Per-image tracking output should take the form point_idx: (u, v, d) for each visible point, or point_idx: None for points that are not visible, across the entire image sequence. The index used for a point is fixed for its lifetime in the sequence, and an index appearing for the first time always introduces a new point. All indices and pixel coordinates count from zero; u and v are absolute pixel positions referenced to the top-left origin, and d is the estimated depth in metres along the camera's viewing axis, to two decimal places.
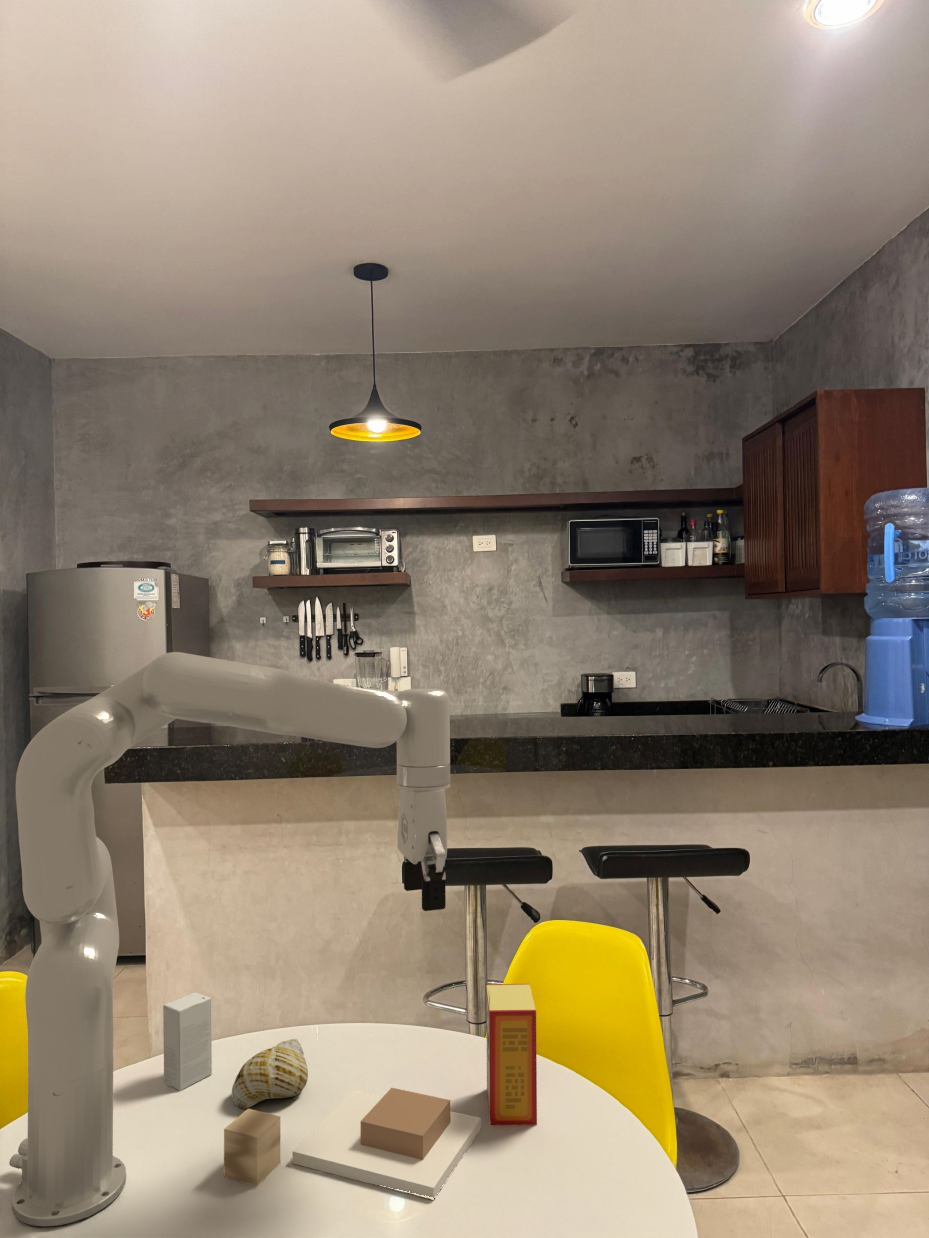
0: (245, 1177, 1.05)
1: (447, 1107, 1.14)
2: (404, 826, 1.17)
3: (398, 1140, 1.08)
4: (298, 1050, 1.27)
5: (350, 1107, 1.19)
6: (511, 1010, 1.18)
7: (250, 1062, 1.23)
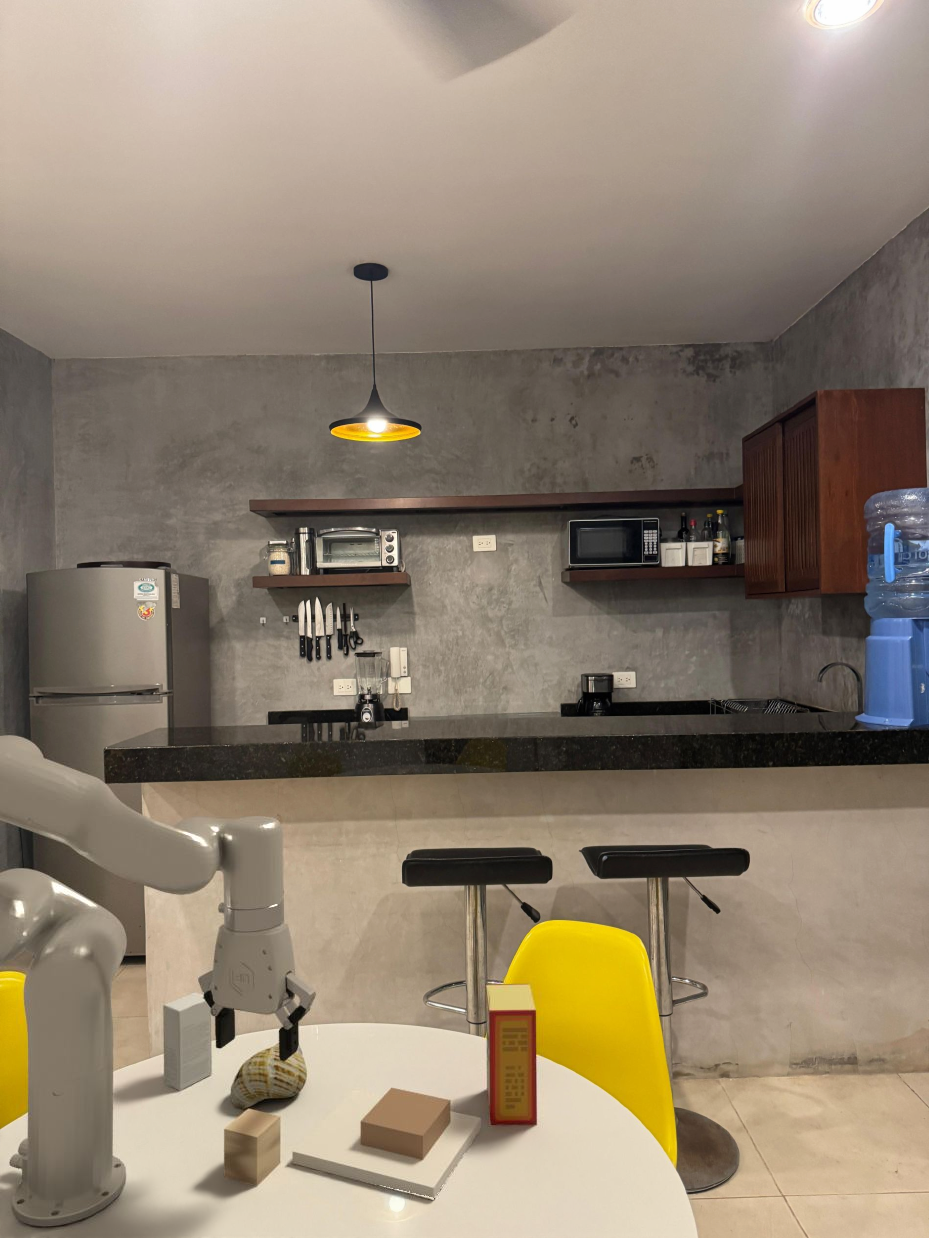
0: (245, 1177, 1.05)
1: (447, 1107, 1.14)
2: (243, 976, 1.05)
3: (398, 1140, 1.08)
4: (297, 1050, 1.27)
5: (350, 1107, 1.19)
6: (511, 1009, 1.18)
7: (249, 1062, 1.23)
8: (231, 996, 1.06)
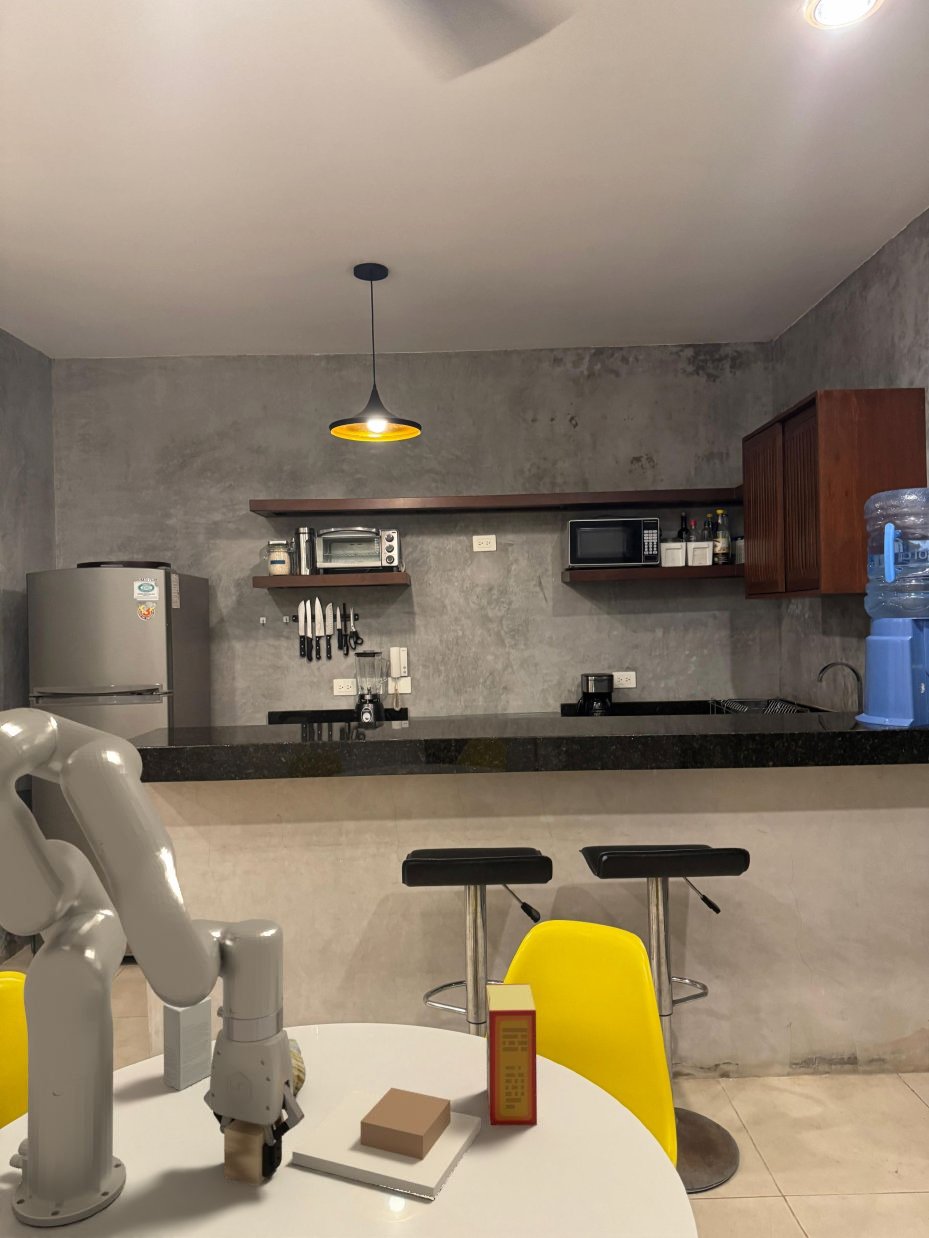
0: (245, 1176, 1.05)
1: (447, 1107, 1.14)
2: (240, 1085, 1.05)
3: (398, 1140, 1.08)
4: (296, 1049, 1.27)
5: (350, 1107, 1.19)
6: (511, 1009, 1.18)
7: None
8: (228, 1105, 1.05)
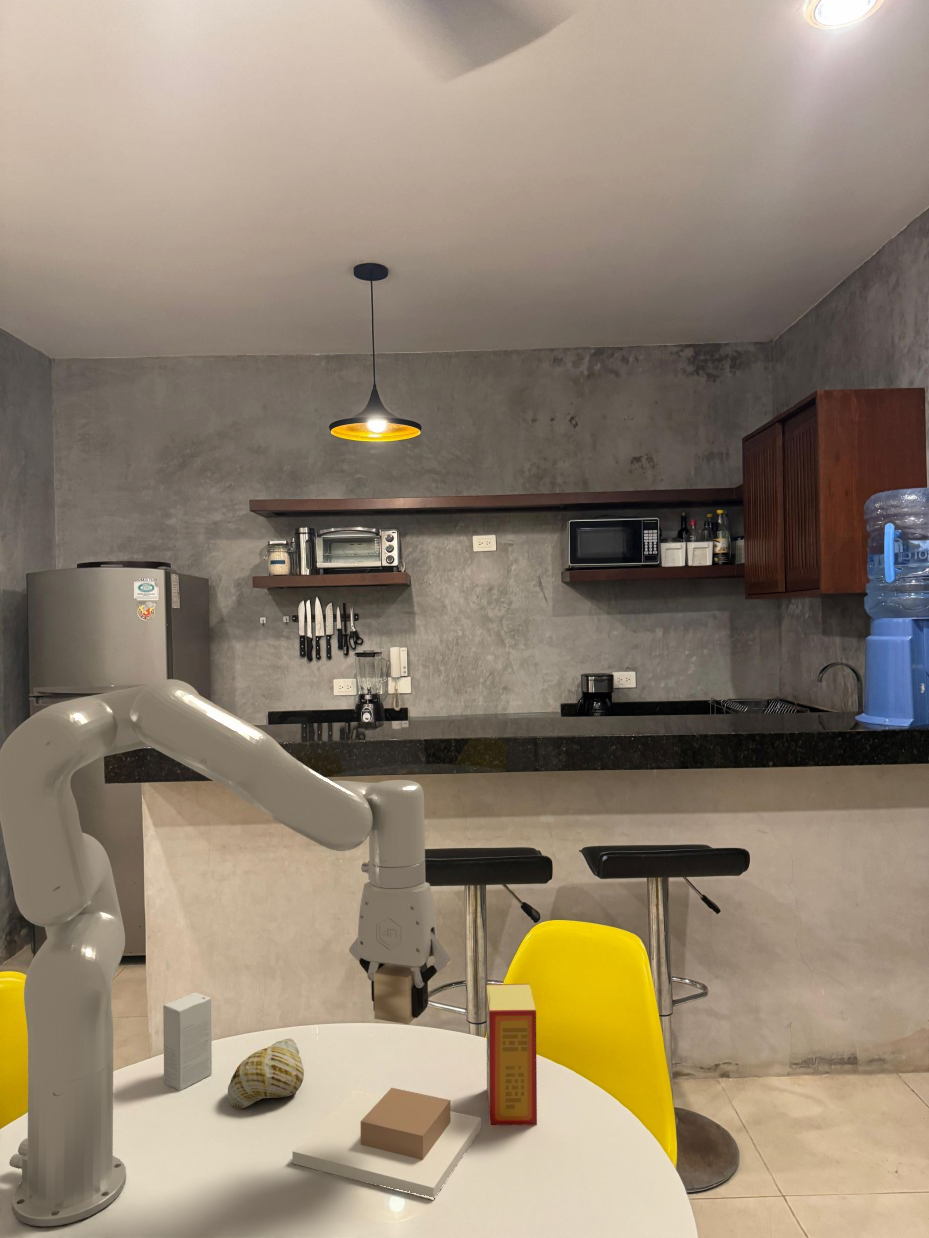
0: (396, 1016, 1.10)
1: (447, 1107, 1.14)
2: (390, 931, 1.10)
3: (398, 1140, 1.08)
4: (294, 1049, 1.27)
5: (350, 1107, 1.19)
6: (511, 1010, 1.18)
7: (246, 1062, 1.23)
8: (378, 950, 1.11)
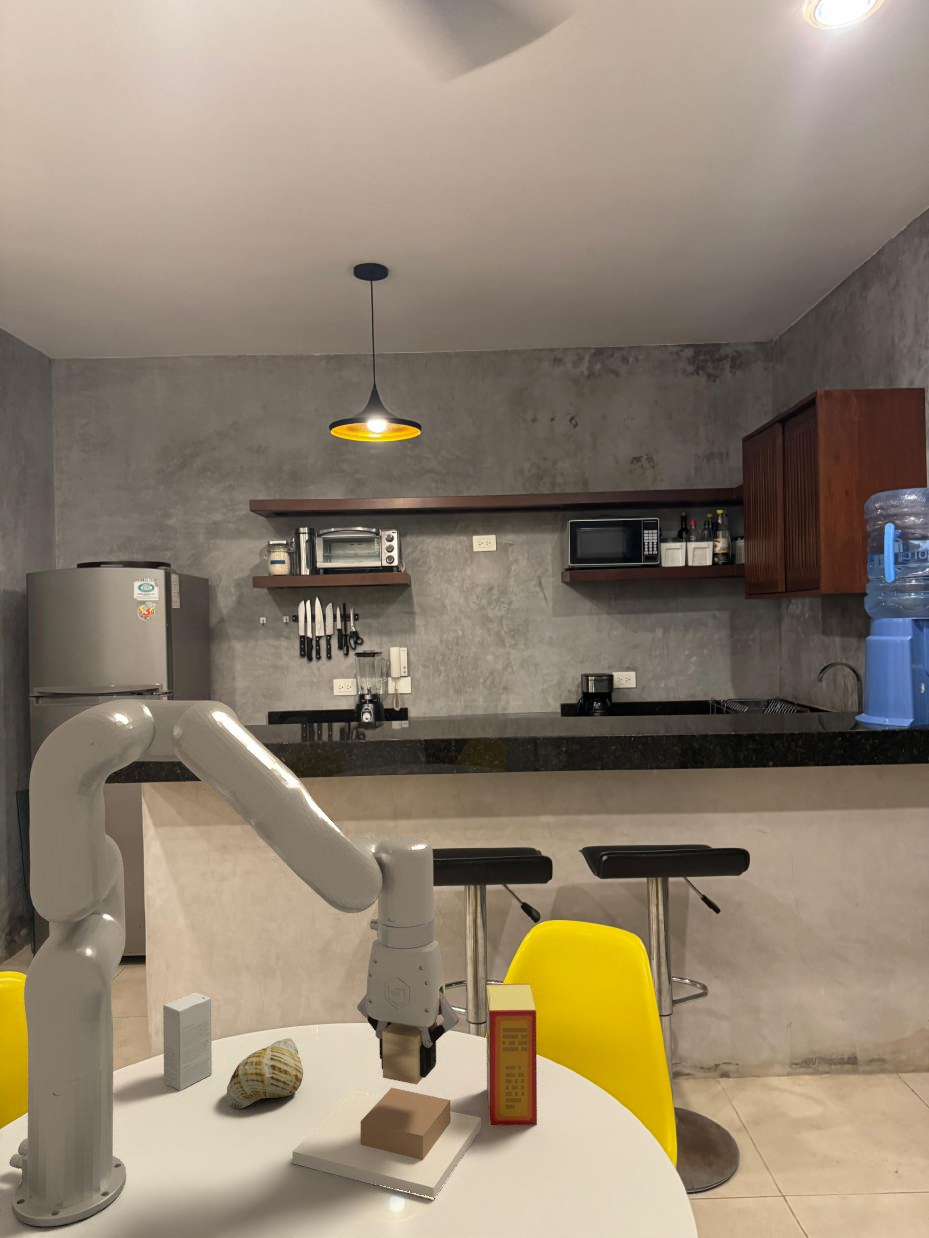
0: (404, 1076, 1.10)
1: (447, 1107, 1.14)
2: (399, 990, 1.10)
3: (398, 1140, 1.08)
4: (293, 1049, 1.27)
5: (350, 1107, 1.19)
6: (511, 1009, 1.18)
7: (245, 1062, 1.23)
8: (386, 1009, 1.11)
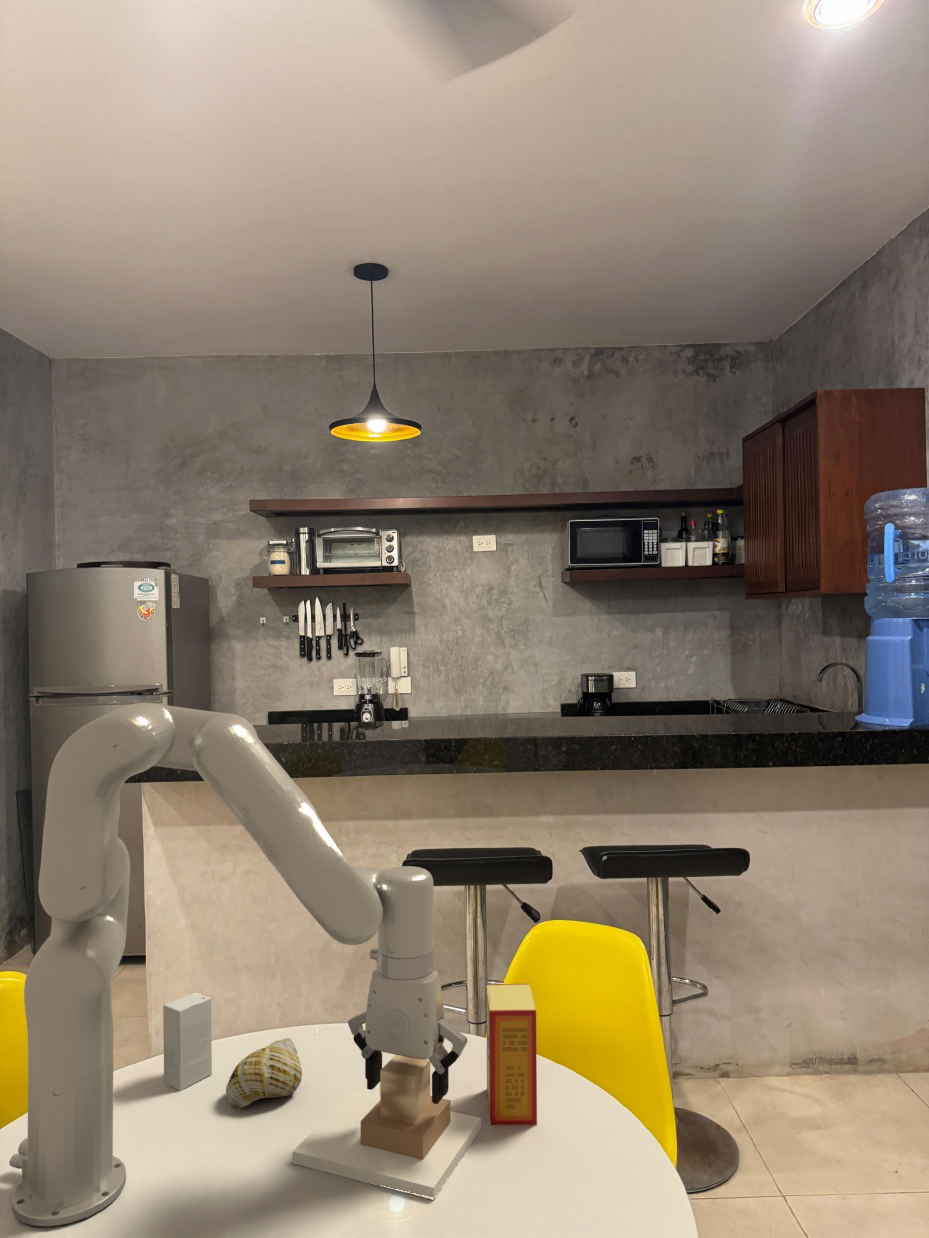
0: (402, 1115, 1.10)
1: (447, 1107, 1.14)
2: (398, 1022, 1.10)
3: (398, 1140, 1.08)
4: (292, 1049, 1.27)
5: (350, 1107, 1.19)
6: (511, 1009, 1.18)
7: (244, 1062, 1.23)
8: (385, 1040, 1.11)
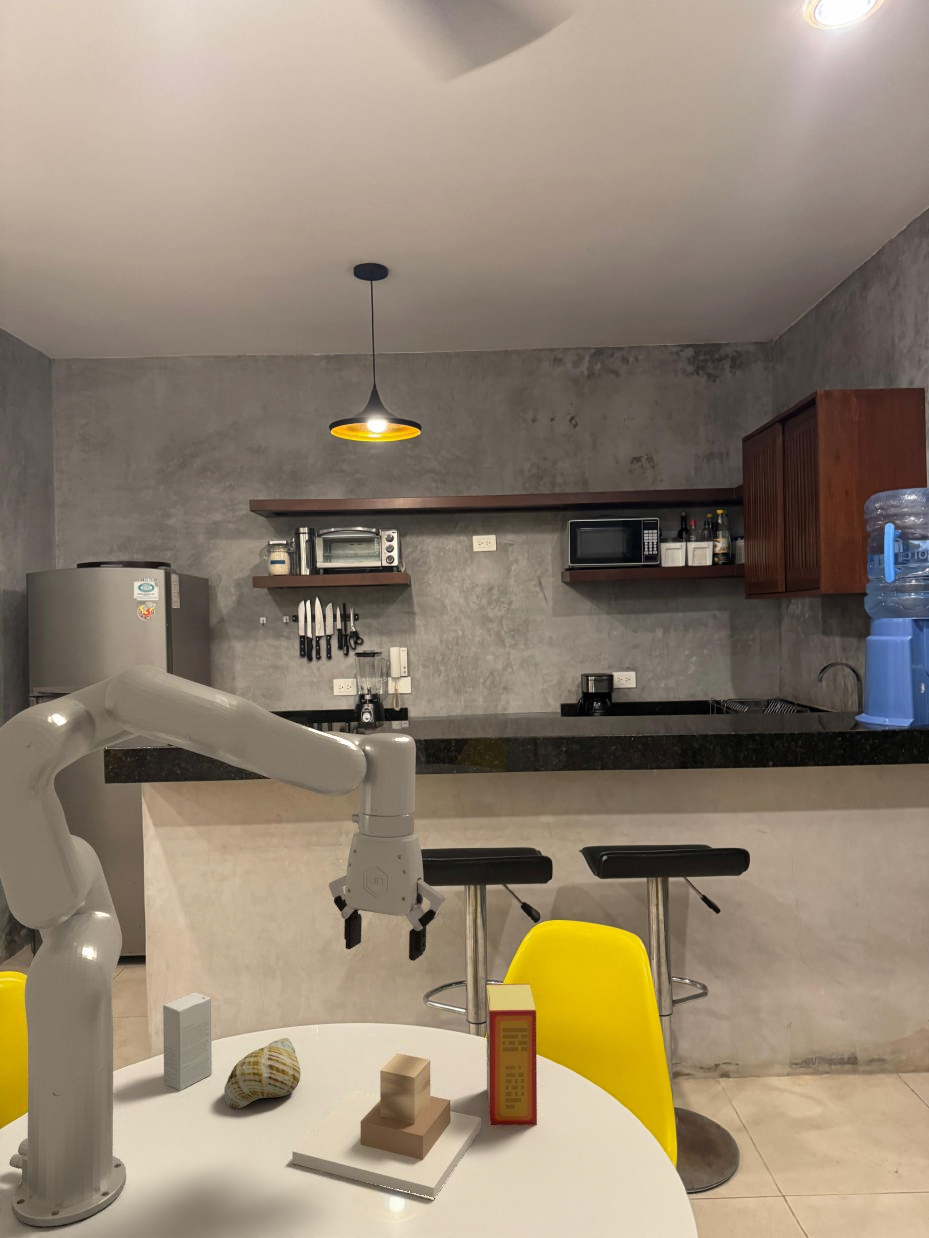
0: (402, 1115, 1.10)
1: (447, 1107, 1.14)
2: (377, 879, 1.12)
3: (398, 1140, 1.08)
4: (290, 1049, 1.27)
5: (350, 1107, 1.19)
6: (511, 1009, 1.18)
7: (243, 1062, 1.23)
8: (364, 898, 1.12)
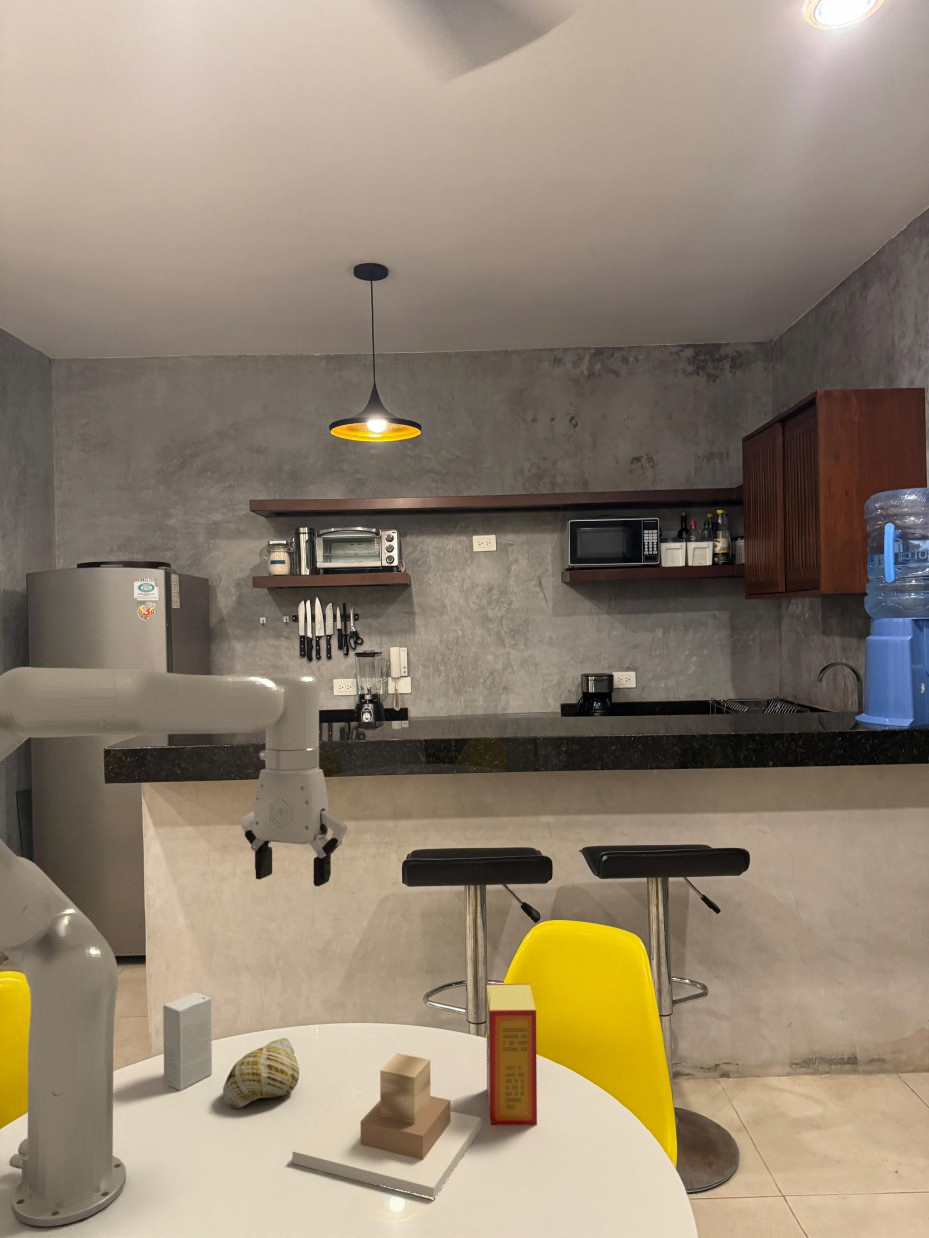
0: (402, 1115, 1.10)
1: (447, 1107, 1.14)
2: (282, 811, 1.18)
3: (398, 1140, 1.08)
4: (289, 1049, 1.27)
5: (350, 1107, 1.19)
6: (511, 1009, 1.18)
7: (242, 1062, 1.23)
8: (271, 829, 1.18)
